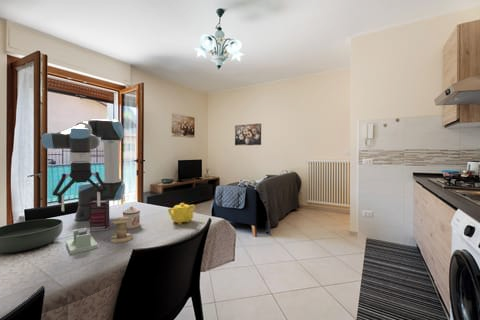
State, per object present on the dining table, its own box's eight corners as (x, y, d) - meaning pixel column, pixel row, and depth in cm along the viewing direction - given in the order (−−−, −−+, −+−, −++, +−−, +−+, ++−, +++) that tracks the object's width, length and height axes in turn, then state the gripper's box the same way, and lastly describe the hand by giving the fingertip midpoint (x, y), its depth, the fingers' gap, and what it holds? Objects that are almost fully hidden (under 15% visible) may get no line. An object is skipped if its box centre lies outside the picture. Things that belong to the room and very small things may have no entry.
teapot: (166, 225, 133) (166, 206, 132) (174, 218, 147) (174, 200, 147) (190, 226, 132) (189, 206, 132) (195, 219, 146) (195, 201, 146)
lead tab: (77, 241, 104) (76, 229, 104) (84, 240, 106) (84, 227, 106) (79, 245, 99) (78, 232, 99) (87, 244, 101) (86, 231, 101)
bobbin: (107, 238, 112) (107, 218, 112) (129, 233, 119) (129, 215, 118) (113, 244, 105) (113, 223, 104) (135, 239, 112) (135, 219, 111)
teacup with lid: (134, 229, 126) (134, 208, 126) (119, 228, 127) (119, 208, 126) (145, 222, 138) (145, 203, 138) (131, 222, 139) (131, 203, 138)
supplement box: (110, 227, 128) (109, 200, 128) (106, 230, 123) (105, 202, 123) (93, 228, 127) (93, 200, 126) (89, 231, 122) (88, 202, 122)
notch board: (66, 244, 105) (66, 230, 104) (91, 238, 112) (91, 225, 111) (70, 254, 94) (70, 239, 94) (97, 247, 101) (97, 233, 101)
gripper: (44, 163, 91) (46, 214, 91) (113, 161, 108) (114, 205, 108) (44, 162, 96) (45, 211, 97) (109, 161, 113) (110, 202, 114)
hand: (81, 208), depth 103 cm, fingers open, 13 cm apart
